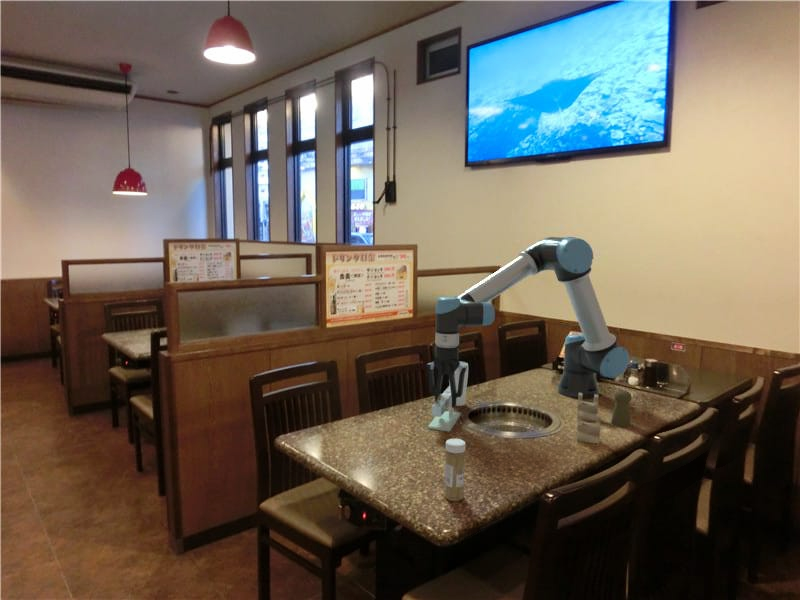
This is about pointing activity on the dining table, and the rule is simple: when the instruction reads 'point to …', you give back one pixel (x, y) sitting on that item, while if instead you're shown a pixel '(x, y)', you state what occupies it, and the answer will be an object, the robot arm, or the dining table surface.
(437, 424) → the sage board
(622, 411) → the olive round-headed peg
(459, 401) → the drinking glass
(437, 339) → the robot arm
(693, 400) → the dining table surface
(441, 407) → the steel rail
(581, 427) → the hook stands
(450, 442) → the sprinkles bottle
